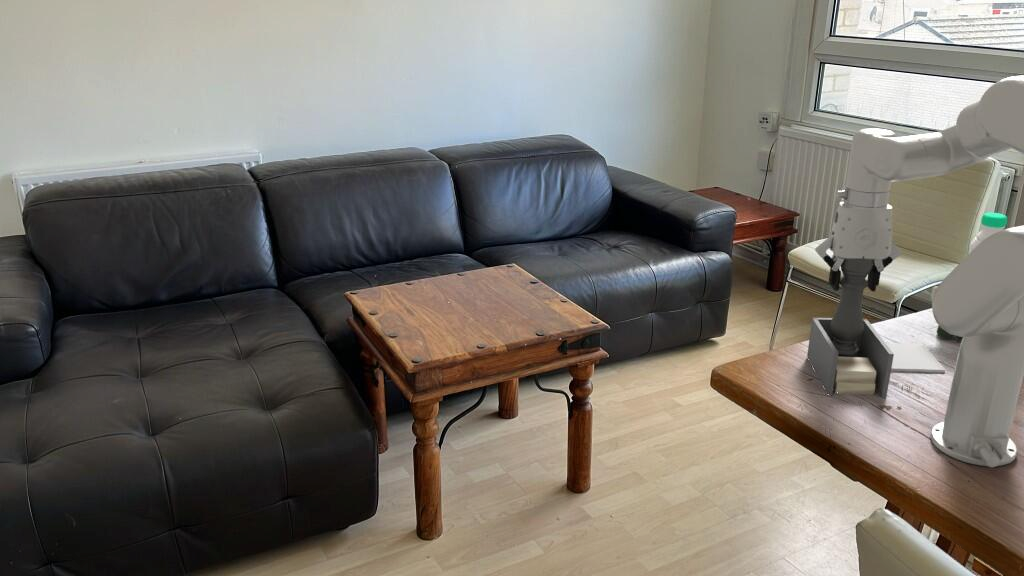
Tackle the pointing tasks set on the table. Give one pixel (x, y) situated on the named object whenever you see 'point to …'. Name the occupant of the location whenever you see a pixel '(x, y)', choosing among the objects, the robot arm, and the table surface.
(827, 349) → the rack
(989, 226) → the water bottle
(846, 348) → the candle holder
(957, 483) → the table surface
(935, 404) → the table surface
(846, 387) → the block
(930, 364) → the mat
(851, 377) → the upper offcut
